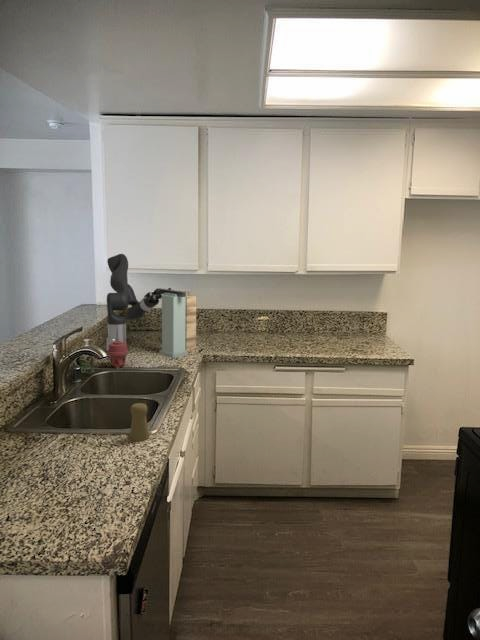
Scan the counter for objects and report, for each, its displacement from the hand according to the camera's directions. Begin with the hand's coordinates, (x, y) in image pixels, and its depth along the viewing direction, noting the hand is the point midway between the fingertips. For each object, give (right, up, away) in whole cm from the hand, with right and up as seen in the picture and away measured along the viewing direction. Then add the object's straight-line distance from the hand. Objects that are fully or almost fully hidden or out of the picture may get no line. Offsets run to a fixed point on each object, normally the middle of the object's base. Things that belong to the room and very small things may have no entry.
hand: (164, 289), depth 260 cm
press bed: (+10, -32, +16) cm, 37 cm away
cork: (+9, -53, -108) cm, 121 cm away
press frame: (+5, -35, 0) cm, 35 cm away
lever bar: (+4, -3, -3) cm, 6 cm away
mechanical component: (-18, -39, -27) cm, 51 cm away
